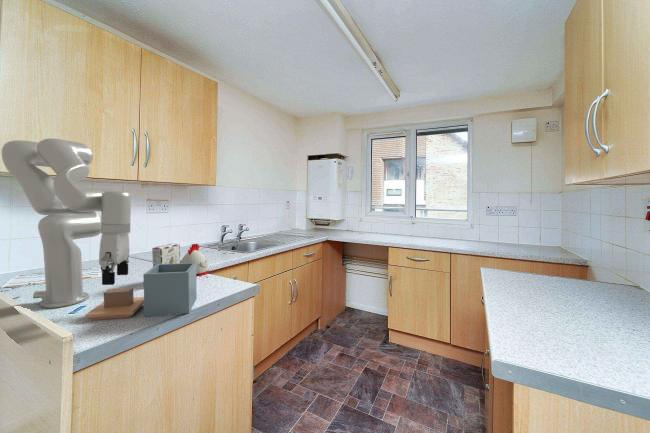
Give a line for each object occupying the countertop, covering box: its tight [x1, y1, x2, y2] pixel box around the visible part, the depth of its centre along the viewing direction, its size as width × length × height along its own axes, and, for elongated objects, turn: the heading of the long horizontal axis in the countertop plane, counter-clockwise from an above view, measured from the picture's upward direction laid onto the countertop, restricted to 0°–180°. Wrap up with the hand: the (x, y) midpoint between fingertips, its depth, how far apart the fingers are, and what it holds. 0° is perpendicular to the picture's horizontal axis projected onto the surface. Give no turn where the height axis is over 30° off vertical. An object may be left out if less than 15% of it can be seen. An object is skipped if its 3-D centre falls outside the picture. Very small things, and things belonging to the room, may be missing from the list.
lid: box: [84, 287, 144, 321], centre depth 89 cm, size 13×13×8 cm
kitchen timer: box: [180, 243, 210, 278], centre depth 134 cm, size 14×14×15 cm
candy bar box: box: [151, 243, 181, 268], centre depth 121 cm, size 11×5×16 cm, turn 168°
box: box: [143, 263, 197, 318], centre depth 93 cm, size 13×13×14 cm
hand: (115, 279), depth 89 cm, fingers open, 9 cm apart
